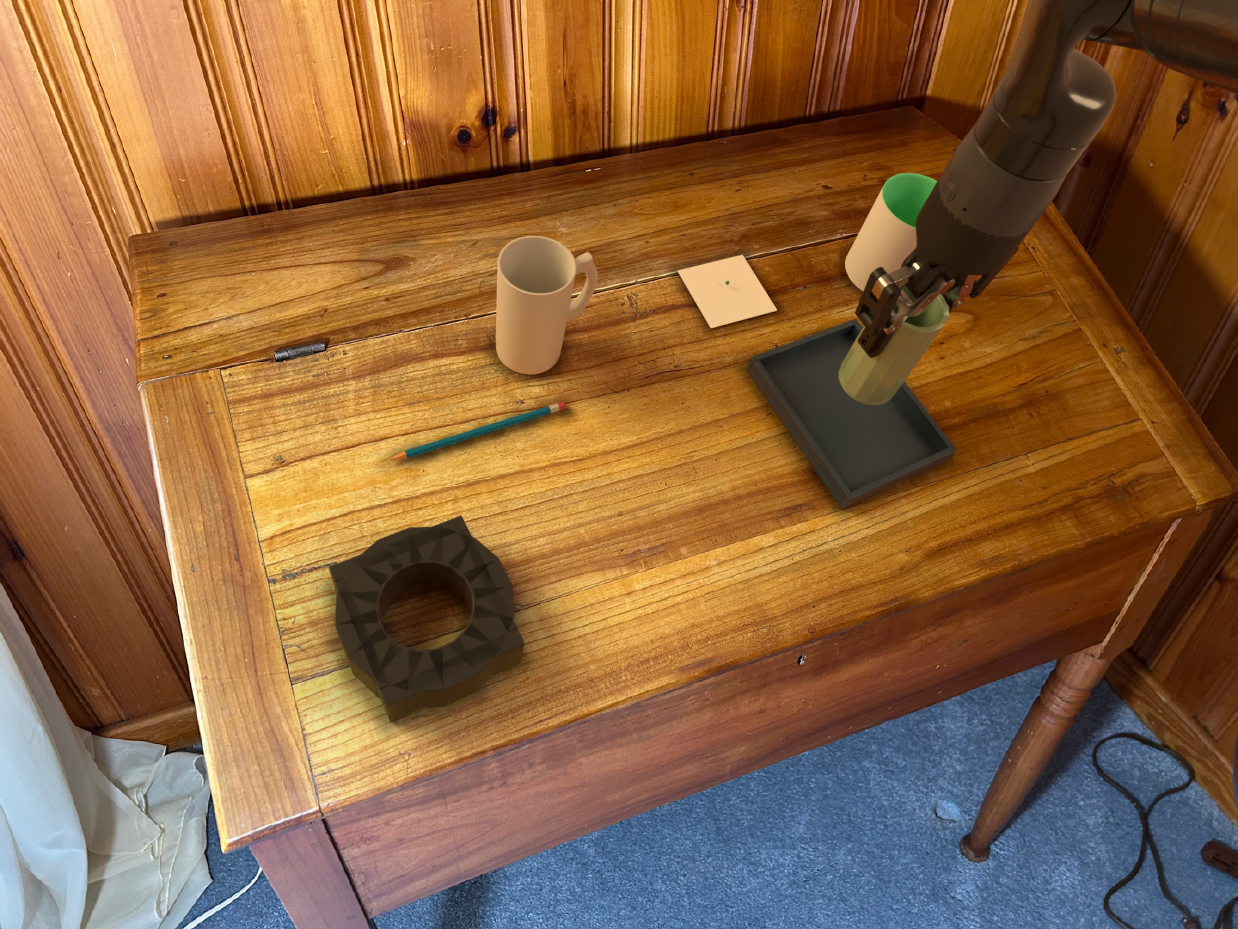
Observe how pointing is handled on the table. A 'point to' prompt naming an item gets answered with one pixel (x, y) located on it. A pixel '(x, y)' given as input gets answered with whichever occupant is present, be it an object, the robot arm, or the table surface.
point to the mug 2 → (889, 227)
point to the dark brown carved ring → (403, 565)
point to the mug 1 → (538, 301)
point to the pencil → (479, 431)
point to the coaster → (726, 291)
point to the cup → (892, 355)
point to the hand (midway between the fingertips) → (896, 337)
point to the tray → (846, 418)
